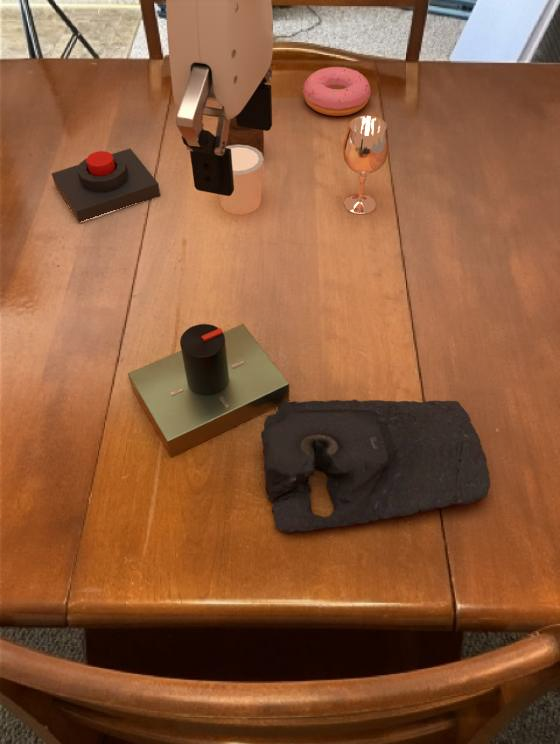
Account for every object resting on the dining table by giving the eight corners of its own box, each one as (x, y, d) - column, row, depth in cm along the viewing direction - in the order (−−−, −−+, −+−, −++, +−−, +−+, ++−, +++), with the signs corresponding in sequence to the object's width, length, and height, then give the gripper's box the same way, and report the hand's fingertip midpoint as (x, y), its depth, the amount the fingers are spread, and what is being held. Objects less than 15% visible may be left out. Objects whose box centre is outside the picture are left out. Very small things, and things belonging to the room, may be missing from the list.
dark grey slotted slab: (498, 530, 64) (511, 506, 60) (263, 538, 63) (262, 514, 59) (465, 399, 73) (474, 371, 69) (261, 405, 73) (259, 377, 69)
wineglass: (374, 189, 96) (384, 111, 87) (385, 214, 93) (396, 136, 84) (335, 194, 96) (340, 115, 87) (344, 219, 92) (351, 140, 83)
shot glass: (226, 222, 92) (222, 179, 87) (208, 194, 96) (204, 151, 91) (272, 209, 94) (272, 166, 88) (253, 182, 98) (251, 139, 92)
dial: (198, 401, 69) (191, 361, 64) (179, 372, 72) (172, 332, 67) (236, 383, 71) (232, 343, 66) (216, 356, 73) (212, 315, 68)
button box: (79, 224, 92) (72, 200, 89) (55, 186, 97) (47, 162, 94) (160, 196, 96) (156, 172, 93) (132, 161, 101) (128, 136, 98)
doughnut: (361, 125, 107) (364, 100, 104) (294, 114, 109) (295, 90, 106) (375, 90, 114) (378, 66, 110) (311, 81, 116) (312, 57, 112)
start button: (94, 180, 92) (91, 169, 91) (85, 166, 94) (82, 155, 93) (119, 172, 93) (117, 161, 92) (109, 159, 95) (107, 148, 94)
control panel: (171, 457, 69) (166, 440, 66) (132, 390, 74) (127, 372, 72) (289, 400, 73) (289, 382, 71) (244, 341, 79) (243, 322, 76)
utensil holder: (271, 156, 102) (270, 79, 92) (236, 170, 100) (231, 93, 90) (250, 138, 105) (247, 61, 96) (215, 151, 103) (208, 74, 93)
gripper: (212, -119, 50) (229, 99, 63) (105, -28, 40) (152, 211, 53) (310, -111, 49) (306, 111, 62) (226, -13, 38) (242, 229, 51)
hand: (235, 157), depth 57 cm, fingers open, 9 cm apart
